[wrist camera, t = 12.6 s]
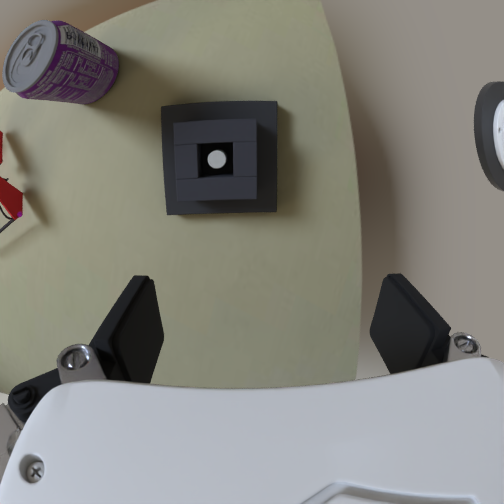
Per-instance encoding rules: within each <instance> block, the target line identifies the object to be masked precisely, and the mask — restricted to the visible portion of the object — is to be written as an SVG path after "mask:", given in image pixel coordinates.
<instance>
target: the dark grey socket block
mask: <svg viewBox="0 0 504 504" xmlns="http://www.w3.org/2000/svg"><path fill="white" fill-rule="evenodd" d="M224 142H233V173H219V174H203V167H202V143H224ZM174 145H175V146H174V151H175V171H176V179H177V180H176V188H177V201H178V202H184V201H207V200H240V199H257V119H224V120H204V121H190V122H178V123H174Z"/></svg>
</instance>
